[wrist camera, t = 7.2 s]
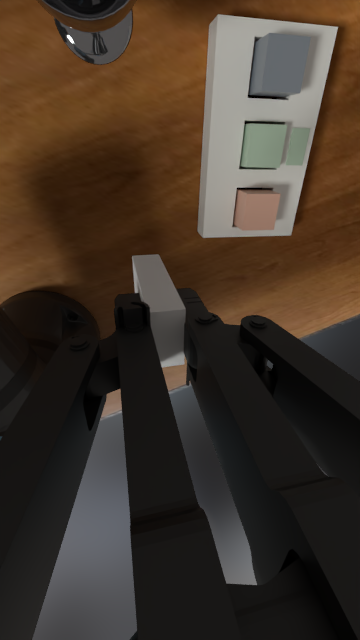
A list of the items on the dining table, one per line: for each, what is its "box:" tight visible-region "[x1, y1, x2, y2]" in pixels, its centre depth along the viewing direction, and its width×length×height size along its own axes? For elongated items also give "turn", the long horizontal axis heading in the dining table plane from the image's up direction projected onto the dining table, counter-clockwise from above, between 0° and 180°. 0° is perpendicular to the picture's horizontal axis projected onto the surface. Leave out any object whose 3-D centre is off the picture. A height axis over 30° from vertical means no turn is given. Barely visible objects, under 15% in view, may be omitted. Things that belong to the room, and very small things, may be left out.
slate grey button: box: [249, 33, 311, 97], centre depth 28 cm, size 4×4×3 cm
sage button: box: [239, 123, 287, 168], centre depth 33 cm, size 4×4×3 cm
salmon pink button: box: [233, 190, 281, 231], centre depth 35 cm, size 4×4×3 cm
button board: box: [197, 14, 338, 238], centre depth 34 cm, size 20×12×3 cm, turn 178°
